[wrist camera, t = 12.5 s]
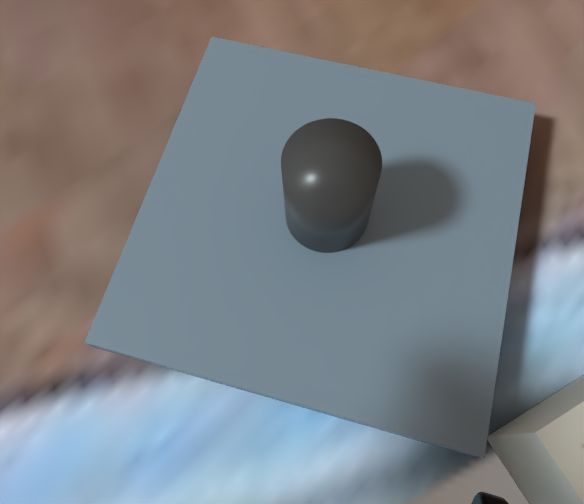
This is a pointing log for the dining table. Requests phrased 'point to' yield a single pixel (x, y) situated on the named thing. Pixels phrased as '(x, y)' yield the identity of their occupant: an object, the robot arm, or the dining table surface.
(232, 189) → the lid
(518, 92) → the dining table surface
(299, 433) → the dining table surface
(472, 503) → the robot arm
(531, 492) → the box
